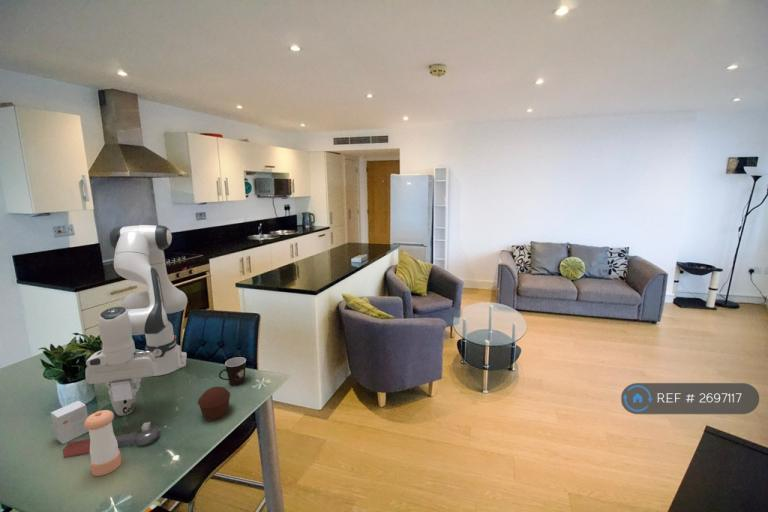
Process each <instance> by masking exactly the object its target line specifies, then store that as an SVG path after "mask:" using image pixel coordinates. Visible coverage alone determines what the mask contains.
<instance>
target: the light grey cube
mask: <svg viewBox="0 0 768 512" xmlns="http://www.w3.org/2000/svg"><path fill="white" fill-rule="evenodd" d="M137 381H138V380H137ZM137 381H136V378H134V379H126V380H118V381H111V389H112V395H113V401H121V400H128V399H133V397H134V396H135V397H136V395H135V394H137V392H139V389H140V388H139V389H134V387H133V385H134V383H135V382H137Z"/></svg>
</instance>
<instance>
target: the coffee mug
mask: <svg viewBox="0 0 768 512" xmlns="http://www.w3.org/2000/svg"><path fill="white" fill-rule="evenodd" d="M224 365H225V369H222V370H221V371H219V374H218V377H219V379H221V380H224V381H228V384H229V386H231V387H236V386H237V387H238V386H240V385H243V384H244V383H245V381H246V370H247V369H246V366H247V359H246V358H245V357H240V356H239V357H237V356H236V357H232V358H229V359H227V360H226V361H225V363H224ZM223 372H226V373H227V374H226V375H227V378H223V377H222V376H221V375H222V373H223Z"/></svg>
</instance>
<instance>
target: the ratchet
mask: <svg viewBox="0 0 768 512" xmlns="http://www.w3.org/2000/svg"><path fill="white" fill-rule="evenodd" d="M115 438H116V440H117V443H118V447H119V448H123V446H124V447H129V446H128V445H130V446H135V445H136V447H138V448H144V447H148V446H151V445H154V444H155V443H157V441H159V439H161V432H160V427H159V425H157V424H156V425H155V424H151V421H148V422H144V423H143V424H142V426H141V428H140V429H139V430H137V431H136V432H134V433H133V432H132V433H128V434H121V435H115ZM62 453H63V458H64V459H65V458H71V457H75V456H81V455H88V454H90V438H89V439H82V440H74V441H71V442H70V441H69V442H67V444H66V446H65V447H64V448H63V449H62Z"/></svg>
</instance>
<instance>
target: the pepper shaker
mask: <svg viewBox="0 0 768 512" xmlns="http://www.w3.org/2000/svg"><path fill="white" fill-rule="evenodd" d="M114 418H115V415H114V412H112V411H111V410H108V409H104V410H97V411H96V412H94V413H93V412H92V413H91V414H90V415H88V417H87V419H86V420H85V422H84V427H85V428H86V429H88V430H89V431H88V434H89V439H90V453H89V455H90V456H89V457H90V462H89V463H90V469H91V474H92V475H93V476H96V477H100V476H104V475H107V474H110V473H112V472H113V471H115V470H117V469H118V468H119V467H120V466H121V464H122V462H123V461H122V455H121V451H120V449H119V448H118V443H117V440H116V438H115V436H116V435H115V433H114V428H113V420H114Z"/></svg>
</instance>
